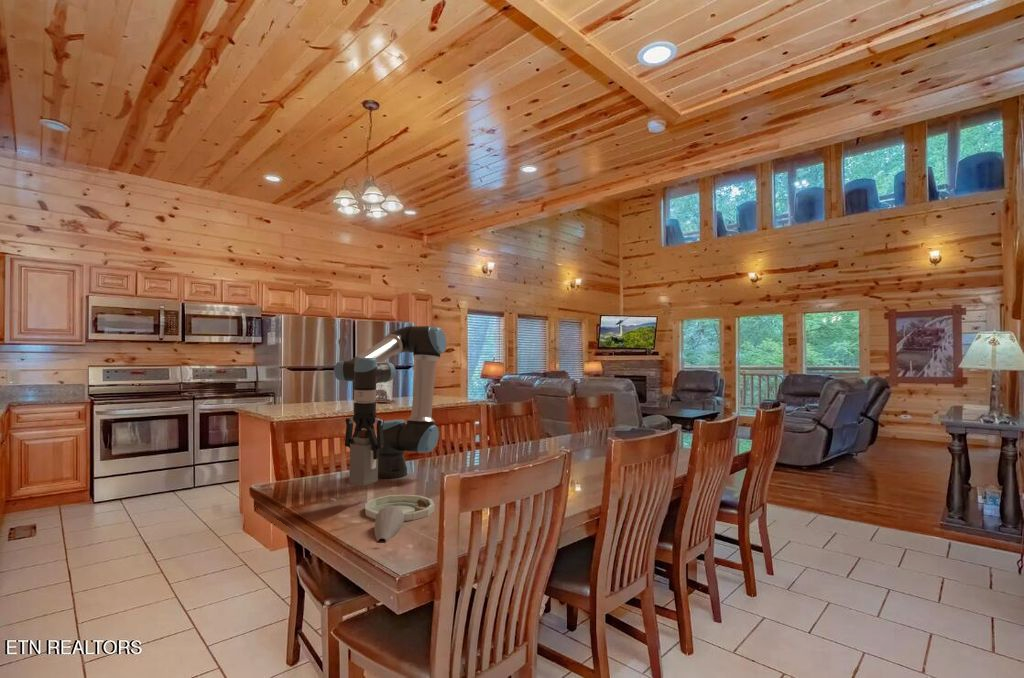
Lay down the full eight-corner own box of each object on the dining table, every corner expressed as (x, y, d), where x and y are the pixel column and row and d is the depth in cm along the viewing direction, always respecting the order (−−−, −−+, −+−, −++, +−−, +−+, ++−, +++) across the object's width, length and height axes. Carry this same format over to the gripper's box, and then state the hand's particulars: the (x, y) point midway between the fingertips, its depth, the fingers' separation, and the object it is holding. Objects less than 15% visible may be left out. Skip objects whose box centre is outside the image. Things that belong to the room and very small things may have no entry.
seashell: (391, 559, 150) (401, 510, 161) (406, 547, 143) (416, 496, 154) (363, 551, 147) (375, 502, 158) (377, 539, 140) (389, 488, 150)
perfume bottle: (349, 482, 178) (350, 431, 178) (363, 478, 184) (364, 428, 184) (364, 485, 175) (364, 432, 175) (377, 481, 181) (378, 429, 181)
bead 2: (416, 512, 167) (417, 506, 167) (425, 513, 167) (425, 507, 167) (413, 515, 165) (413, 508, 165) (421, 516, 164) (421, 509, 164)
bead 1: (419, 504, 176) (419, 498, 176) (427, 505, 175) (427, 499, 175) (416, 507, 173) (416, 501, 173) (423, 507, 173) (424, 501, 173)
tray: (384, 501, 182) (384, 492, 183) (442, 507, 178) (443, 497, 178) (352, 521, 161) (352, 510, 161) (417, 528, 156) (418, 517, 156)
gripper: (334, 401, 178) (333, 468, 178) (385, 404, 174) (384, 472, 174) (345, 399, 185) (344, 463, 186) (395, 401, 181) (394, 467, 181)
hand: (363, 467), depth 180 cm, fingers closed on perfume bottle, 6 cm apart
